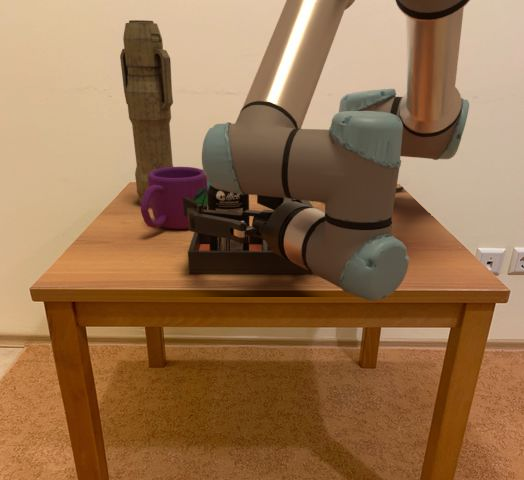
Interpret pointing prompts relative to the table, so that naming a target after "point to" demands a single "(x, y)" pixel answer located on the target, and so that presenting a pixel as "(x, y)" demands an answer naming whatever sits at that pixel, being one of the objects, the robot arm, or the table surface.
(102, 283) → the table surface
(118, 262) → the table surface
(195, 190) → the mug
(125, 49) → the stone statue
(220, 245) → the beverage can
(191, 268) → the tray
